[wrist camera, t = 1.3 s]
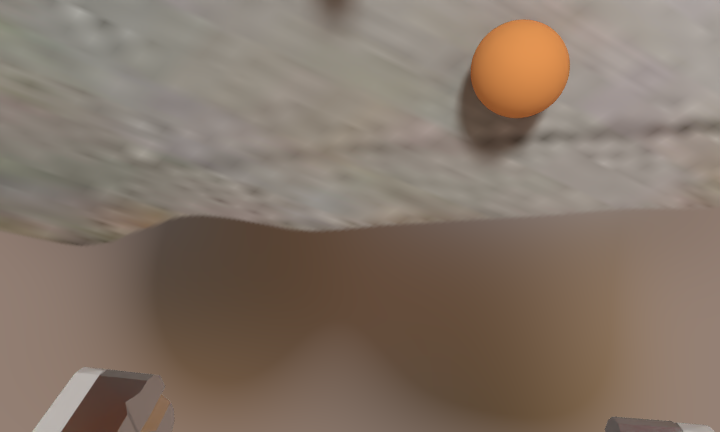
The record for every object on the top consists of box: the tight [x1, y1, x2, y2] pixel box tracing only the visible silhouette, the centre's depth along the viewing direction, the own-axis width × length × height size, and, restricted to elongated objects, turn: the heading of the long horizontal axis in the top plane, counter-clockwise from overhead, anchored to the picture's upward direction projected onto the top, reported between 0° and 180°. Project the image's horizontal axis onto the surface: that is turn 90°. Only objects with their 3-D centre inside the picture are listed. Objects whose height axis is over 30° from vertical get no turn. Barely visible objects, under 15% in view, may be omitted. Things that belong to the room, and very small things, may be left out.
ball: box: [471, 20, 570, 118], centre depth 34 cm, size 6×6×6 cm
